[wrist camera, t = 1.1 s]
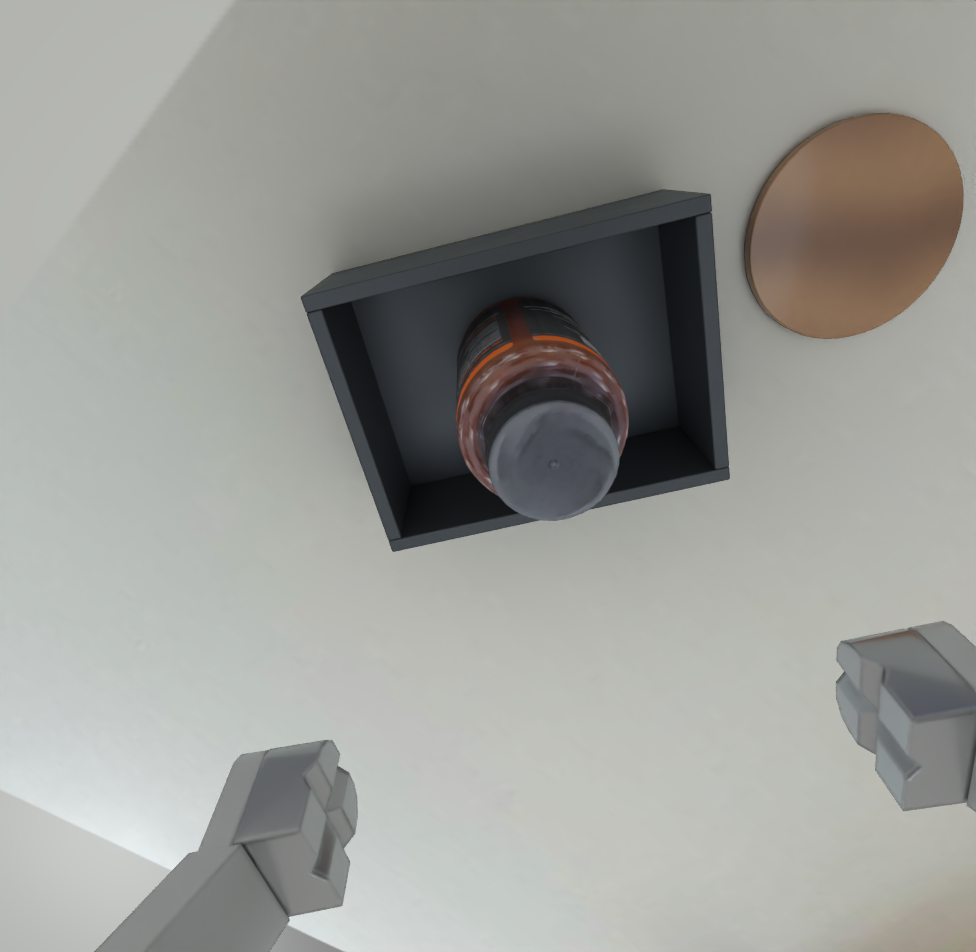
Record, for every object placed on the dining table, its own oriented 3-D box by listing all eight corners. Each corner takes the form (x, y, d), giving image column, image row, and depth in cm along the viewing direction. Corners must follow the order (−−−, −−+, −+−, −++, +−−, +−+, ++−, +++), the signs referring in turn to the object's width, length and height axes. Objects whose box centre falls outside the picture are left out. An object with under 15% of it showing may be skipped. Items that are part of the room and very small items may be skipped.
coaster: (738, 146, 25) (744, 145, 25) (965, 88, 25) (976, 86, 24) (748, 355, 29) (753, 359, 29) (944, 310, 29) (953, 313, 28)
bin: (331, 273, 27) (299, 296, 22) (664, 188, 26) (711, 193, 21) (404, 493, 32) (392, 552, 27) (688, 429, 31) (730, 479, 26)
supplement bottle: (446, 408, 30) (435, 533, 19) (470, 281, 27) (472, 347, 17) (568, 430, 30) (618, 562, 20) (602, 308, 28) (680, 388, 17)
